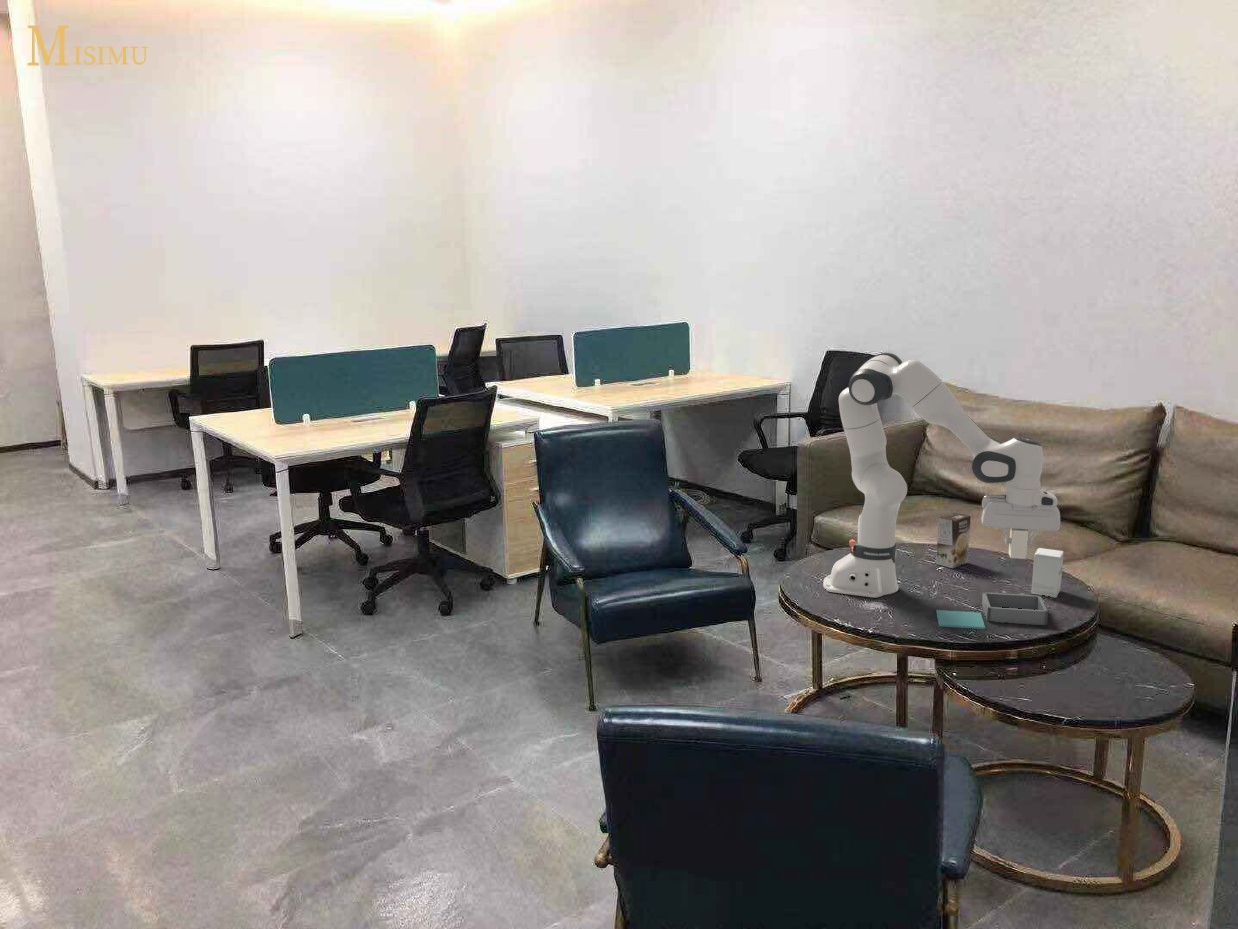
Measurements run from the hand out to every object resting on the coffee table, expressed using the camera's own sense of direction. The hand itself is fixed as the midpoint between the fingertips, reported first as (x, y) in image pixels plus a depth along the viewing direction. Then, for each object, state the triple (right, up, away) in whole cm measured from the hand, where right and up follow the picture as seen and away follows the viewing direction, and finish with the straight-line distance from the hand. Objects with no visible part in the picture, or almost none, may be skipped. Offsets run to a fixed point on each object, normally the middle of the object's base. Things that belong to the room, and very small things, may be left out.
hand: (1018, 543), depth 276 cm
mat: (-16, -22, +1) cm, 27 cm away
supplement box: (+17, -17, +22) cm, 32 cm away
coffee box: (-2, -11, +49) cm, 50 cm away
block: (0, -4, +1) cm, 4 cm away
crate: (0, -21, +5) cm, 21 cm away
